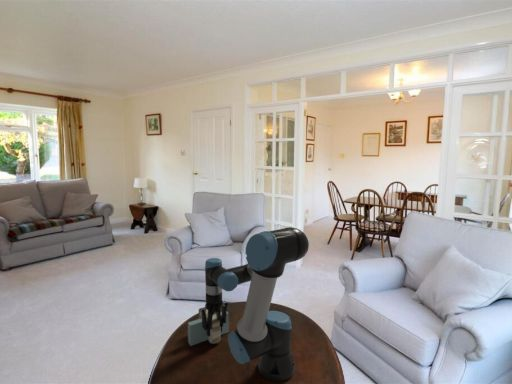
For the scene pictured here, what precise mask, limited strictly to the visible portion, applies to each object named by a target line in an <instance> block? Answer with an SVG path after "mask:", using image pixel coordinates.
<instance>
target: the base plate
mask: <svg viewBox="0 0 512 384" xmlns="http://www.w3.org/2000/svg"><path fill="white" fill-rule="evenodd" d="M213 315H214V316H215V317H216V318H217V315H216V313H214V314H213ZM221 316H222V311H221ZM229 320H230V315H229V312H228V311H226V323H225V324H223V327H222V332H221V336H222V335H225V334H229V333H230V329H229V328H230V321H229ZM206 341H209V340H208V335H207V330H205V329H204V328H203V327H202V318H201V319H199V318H197V319H195V320H192V321H188V322H187V343H188V345H189V346H190V347H192V346H194V345H198V344H200V343H203V342H206Z"/></svg>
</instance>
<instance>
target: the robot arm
mask: <svg viewBox="0 0 512 384" xmlns="http://www.w3.org/2000/svg"><path fill="white" fill-rule="evenodd" d="M309 243H310V242H309V240H308V237H307V235H306V233H305V232H303V231H302V230H301V229H299V228H297V227H296V228H295V227H284V228H280V229H274V230H269V231H267V230H266V231H265V230H264V231H261V232H258V233H254V234H253V235H251V237H249V239H248V241H247V242H246V245H245V246H246V247H245V255H246V257H245V258H246V259H245V260H246V264H242V265H239V266H234V267H231V268H225V267H223V261H222V259H221V258H218V257H212V258H207V259H206V260H205V263H204V264H205V266H204V271H205V273H204V275H205V304H204V308H203V307H200V308H199V309H200V311H201V315H202V327H203V328H204V329H205V330H207V335H208V340H207V341H208V342H209V343H210V344H213V343H212V329H211V324H212V317H213V314H216V315H217V319H218V320H219V321H220V341H221V340H222V339H221V338H222V337H221V336H222V335H221V332H222V327H223V324H225V323H226V311H227V308H228V305H229V303H228V302H227V301H225V300H224V301H223V290H224V291H225V292H232V291H234V290H235V289H236V288H237V287H238V285H241V284H245V283H248V282H250V284H249V288H248V294H247V298H246V302H245V306H244V311H243V316H242V317H241V318H240V319H239V320H238V322H237V324H236V329H235V330H232V331H229V332H228V335H227V342H228V347H229V349H230V352H231V355H232V356H233V358H234V360H235V361H236V362H237V363H238V364H241V365H244V364H246V363H250V362H251V361H253V360H256V359H258V358H259V359H258V364H257V369H258V372H259V374H260V375H261V377H263V378H265V379H267V380H269V381H272V382H284V381H287V380H289V379H290V378H292V377H293V376H294V374H295V371H296V362H295V359H294V357H293V354H292V329H293V327H292V321H291V320H292V319H291V317H290V315H288V314H287V313H285V312H282V311H278V310H270V308H271V307H270V306H271V304H272V300H273V296H274V292H275V288H276V283H277V279H279V278H280V277H282V276H283V274H284V271H285V266H286V265H287V264H288V263H293V262H296V261H299V260H301V259H303V258H304V257H305V256H306V255H307V253H308V251H309V247H310V244H309ZM206 309H207V310H208V317H207V321H206ZM221 312H222V316H221ZM227 312H228V311H227Z"/></svg>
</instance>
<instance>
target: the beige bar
mask: <svg viewBox="0 0 512 384" xmlns="http://www.w3.org/2000/svg"><path fill="white" fill-rule="evenodd" d="M204 307H205V306H204ZM204 307H202V308H204ZM207 317H208V310H207V309H206V321H207ZM201 318H202V315H201V311H200V308H198V319H201ZM211 329H212V343H211V344H212V345H215V344H217V343H220V342H221V340H220V321H219V320H218V319H217V318H216V317H215V316H214V315H213V317H212V324H211Z"/></svg>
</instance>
